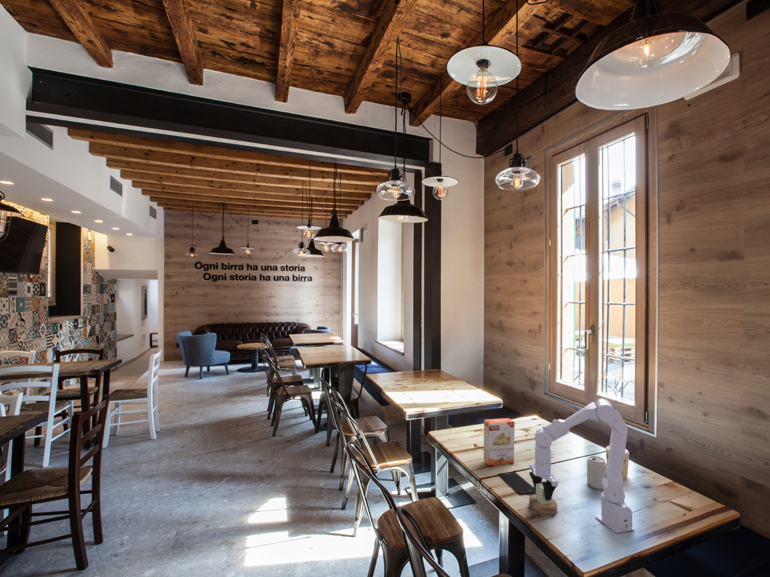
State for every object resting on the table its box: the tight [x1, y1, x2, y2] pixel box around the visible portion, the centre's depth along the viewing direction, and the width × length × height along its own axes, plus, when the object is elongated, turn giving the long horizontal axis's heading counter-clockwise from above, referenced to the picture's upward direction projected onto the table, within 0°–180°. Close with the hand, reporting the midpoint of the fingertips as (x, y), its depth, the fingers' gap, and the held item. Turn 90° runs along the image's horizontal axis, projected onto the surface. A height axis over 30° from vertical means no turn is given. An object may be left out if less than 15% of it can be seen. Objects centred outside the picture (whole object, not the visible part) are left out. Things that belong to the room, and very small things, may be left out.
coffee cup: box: [605, 445, 630, 480], centre depth 171 cm, size 9×9×12 cm
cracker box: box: [483, 417, 515, 466], centre depth 183 cm, size 14×6×21 cm, turn 102°
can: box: [586, 455, 607, 490], centre depth 161 cm, size 8×8×12 cm
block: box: [535, 483, 551, 505], centre depth 144 cm, size 4×4×6 cm
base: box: [528, 493, 558, 516], centre depth 144 cm, size 10×10×3 cm
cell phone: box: [497, 471, 536, 496], centre depth 163 cm, size 9×18×1 cm, turn 13°
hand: (542, 495), depth 144 cm, fingers open, 6 cm apart
